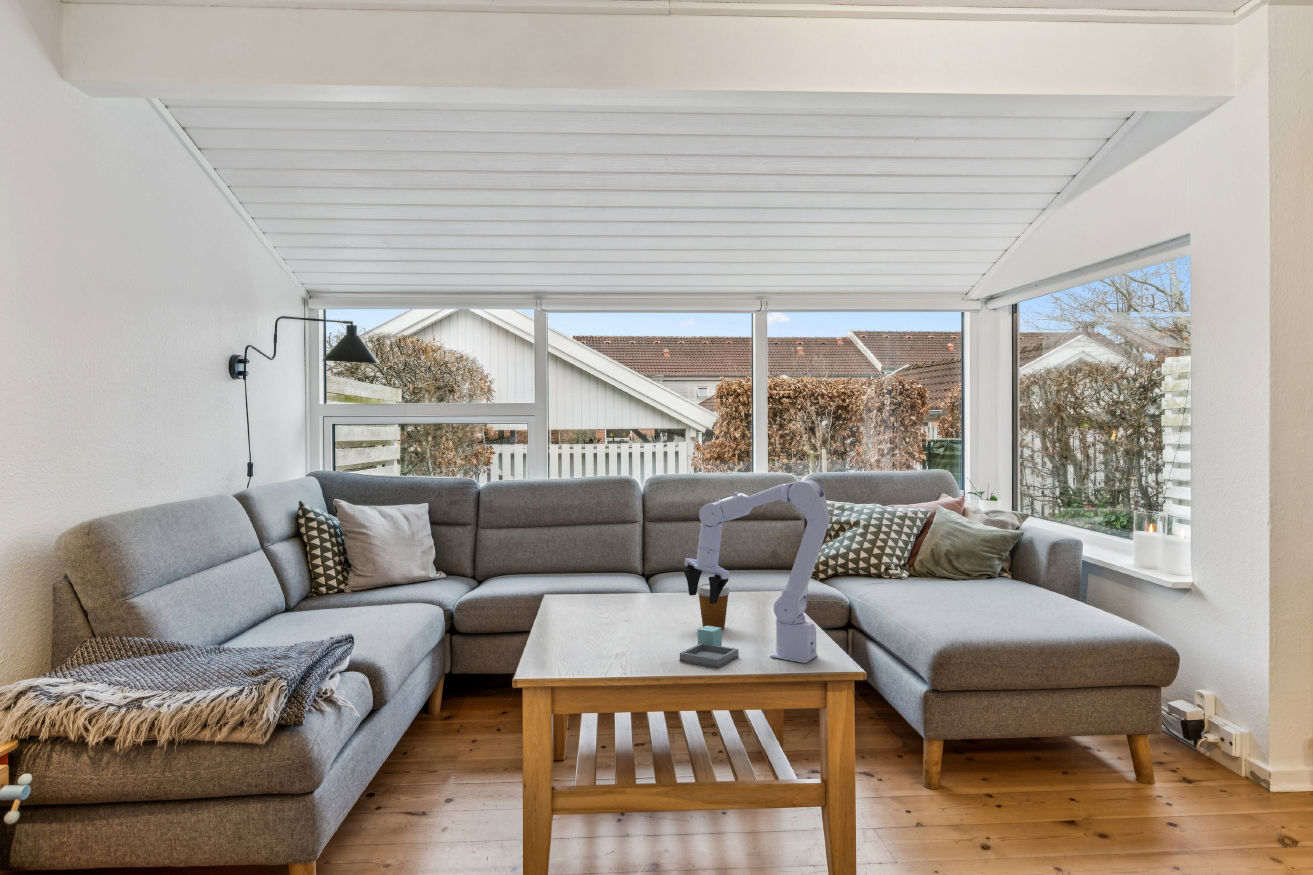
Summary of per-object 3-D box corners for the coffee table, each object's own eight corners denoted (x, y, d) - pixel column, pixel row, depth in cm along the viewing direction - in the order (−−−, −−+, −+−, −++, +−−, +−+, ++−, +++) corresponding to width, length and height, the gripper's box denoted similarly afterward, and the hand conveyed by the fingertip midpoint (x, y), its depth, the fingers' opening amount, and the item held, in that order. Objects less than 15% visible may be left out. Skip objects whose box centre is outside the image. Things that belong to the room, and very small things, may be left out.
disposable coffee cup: (728, 632, 202) (728, 589, 202) (694, 631, 203) (694, 588, 204) (731, 624, 211) (731, 583, 211) (699, 622, 213) (699, 582, 213)
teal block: (721, 646, 188) (721, 627, 188) (713, 651, 184) (712, 631, 184) (706, 644, 190) (706, 625, 190) (698, 648, 187) (697, 629, 187)
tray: (738, 657, 178) (738, 648, 178) (717, 668, 170) (717, 659, 170) (701, 650, 184) (701, 642, 184) (679, 661, 176) (679, 652, 176)
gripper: (678, 542, 191) (672, 592, 192) (718, 555, 180) (712, 608, 181) (697, 541, 196) (691, 590, 196) (737, 554, 185) (730, 605, 186)
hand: (702, 598), depth 189 cm, fingers open, 7 cm apart
